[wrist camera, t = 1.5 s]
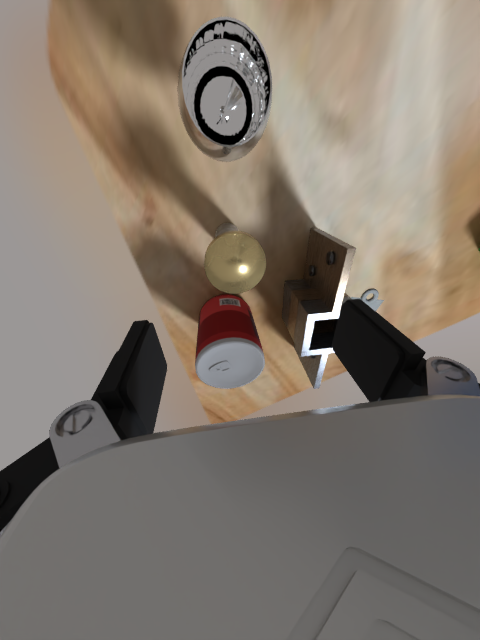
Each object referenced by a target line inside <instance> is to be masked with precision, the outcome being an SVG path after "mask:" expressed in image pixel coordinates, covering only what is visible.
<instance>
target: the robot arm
mask: <svg viewBox="0 0 480 640" xmlns="http://www.w3.org/2000/svg"><path fill="white" fill-rule="evenodd" d="M332 349H333V351H334V352H335V354H336V355H337V357H338V358H339V359H340V361H341V362H342V364H343V365H344V366H345V368H346V369H347V371H348V372H349V374H350V375H351V376H352V378H353V379H354V381H355V382H356V383H357V385H358V386H359V388H360V389H361V390H362V392H363V393H364V395H365V396H366V398H367V399H368V400H369V402H368V403H360V404H353V405H345V406H338V407H330V408H323V409H316V410H309V411H302V412H294V413H287V414H280V415H273V416H266V417H259V418H252V419H245V420H238V421H231V422H224V423H217V424H210V425H203V426H196V427H190V428H183V429H177V430H171V431H166V432H159V433H153V431H154V427H155V422H156V417H157V413H158V408H159V404H160V399H161V395H162V390H163V386H164V381H165V376H166V372H167V364H166V360H165V357H164V354H163V351H162V348H161V345H160V342H159V339H158V336H157V333H156V330H155V328H154V325H153V323H149V322H148V321H147V320H143V321H135V322H133V324H132V326H131V328H130V330H129V332H128V334H127V336H126V338H125V340H124V342H123V344H122V346H121V347H120V349H119V351H118V352H116V354H115V355H114V357H113V359H112V361H111V363H110V365H109V367H108V368H107V370H106V372H105V374H104V376H103V378H102V380H101V382H100V384H99V385H98V387H97V389H96V391H95V393H94V395H93V397H92V399H91V400H87V401H81V402H78V403H76V404H74V405H72V406H70V407H68V408H67V409H65V410H64V411H63V412H62V413H61V414H59V415H58V416H57V417H56V419H55V420H54V422H53V423H52V425H51V427H50V430H49V435H50V437H49V438H48V439H46V440H45V441H44V442H42V443H41V444H39V445H38V446H36V447H35V448H33V449H32V450H30V451H29V452H28V453H26V454H25V455H23V456H22V457H20V458H19V459H17V460H16V461H15V462H13V463H12V464H10V465H9V466H7V467H6V468H4V469H3V470H1V471H0V640H480V384H479V383H478V382H477V378H476V376H475V374H474V373H473V372H472V371H471V370H470V369H469V368H467V367H466V366H464V365H463V364H461V363H459V362H456V361H454V360H451V359H449V358H444V357H431V358H429V359H427V361H426V360H425V359H424V358H423V356H424V354H425V351H423V350H422V349H421V348H419V347H418V346H417V345H416V344H415V343H414V342H412V341H411V340H410V339H409V338H407V337H406V336H405V335H404V334H402V333H401V332H400V331H399V330H398V329H396V328H395V327H394V326H393V325H391V324H390V323H389V322H388V321H387V320H385V319H384V318H383V317H382V316H380V315H379V314H378V313H377V312H376V311H374V310H373V309H372V308H371V307H369V306H368V305H367V304H366V303H365V302H363V301H362V300H361V299H350V300H346V301H345V303H343V304H342V306H341V310H340V314H339V318H338V322H337V326H336V330H335V333H334V337H333V341H332Z"/></svg>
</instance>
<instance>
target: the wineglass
mask: <svg viewBox="0 0 480 640" xmlns="http://www.w3.org/2000/svg"><path fill="white" fill-rule="evenodd" d="M177 92H178V106H179V110H180V115H181V119H182V122H183V124H184V127H185V130H186V132H187V134H188V135H189V137H190V139H191V140H192V142H193V143H194V145H195V146H196V147H197V148H198V149H199V150H200V151H201V152H202V153H203V154H205V155H206V156H208V157H210V158H212V159H214V160H217V161H221V162H231V161H235V160H238V159H240V158H242V157H244V156H246V155H247V154H248V153H249V152H250V151H252V150H253V148H254V147H255V146H256V145H257V143H258V142H259V140H260V139H261V137H262V135H263V133H264V130H265V128H266V126H267V122H268V119H269V115H270V110H271V103H272V76H271V70H270V65H269V61H268V58H267V55H266V52H265V50H264V47H263V46H262V44H261V42H260V41H259V39H258V37H257V36H256V34H255V33H254V32H253V31H252V30H251V29H250V28H249V27H248V26H247V25H246V24H244V23H243V22H241V21H239V20H237V19H235V18H231V17H218V18H214V19H211V20H210V21H208V22H206V23H205V24H203V25H202V26H201V27H200V28H199V29H198V30H197V31H196V32H195V34H194V35H193V37H192V38H191V40H190V41H189V43H188V45H187V47H186V50H185V52H184V55H183V58H182V62H181V65H180V69H179V76H178V86H177Z"/></svg>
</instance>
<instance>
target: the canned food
mask: <svg viewBox="0 0 480 640" xmlns="http://www.w3.org/2000/svg"><path fill="white" fill-rule="evenodd" d="M264 364H265V360H264V354H263V350H262V346H261V343H260V339H259V336H258V333H257V329H256V326H255V323H254V319H253V316H252V313H251V310H250V308H249V306H248V304H247V303H246V302H245V301H244V300H242V299H241V298H239V297H237V296H234V295H229V294H224V295H218V296H215V297H213V298H211V299H210V300H208V301H207V302H206V303H205V305H204V306H203V308H202V309H201V311H200V314H199V324H198V336H197V347H196V361H195V366H196V373H197V375H198V377H199V378H200V379H201V381H203V382H204V383H205V384H208V385H210V386H212V387H216V388H226V389H228V388H236V387H240V386H243V385H246V384H248V383H250V382H252V381H253V380H254V379H256V378H257V377H258V376H259V375H260V373H261V372H262V370H263V368H264Z"/></svg>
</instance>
